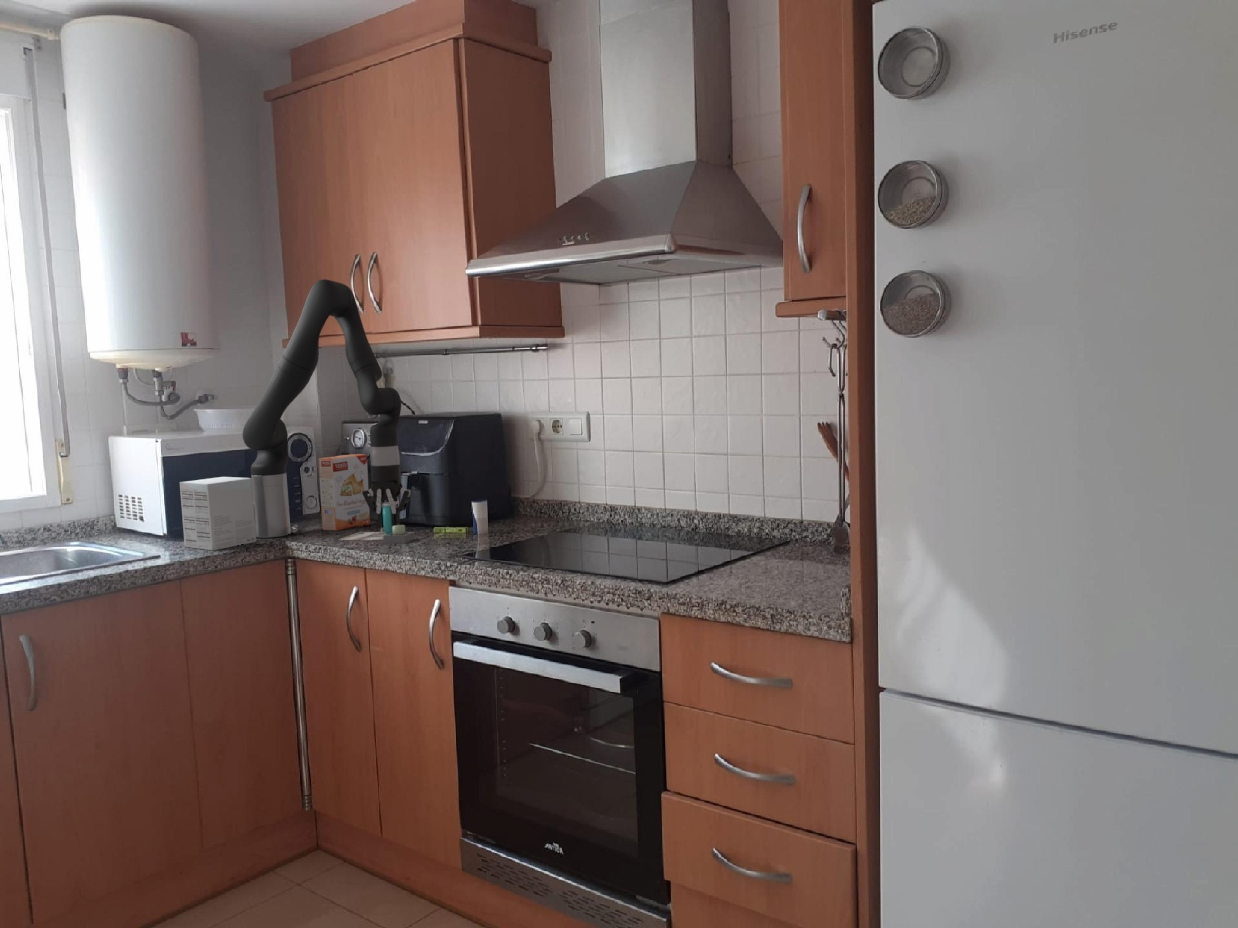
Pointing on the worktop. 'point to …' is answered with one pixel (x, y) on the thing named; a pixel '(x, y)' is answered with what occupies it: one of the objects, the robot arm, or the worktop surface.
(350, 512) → the cracker box
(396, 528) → the button
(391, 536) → the button housing
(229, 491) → the supplement box
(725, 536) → the worktop surface
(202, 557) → the worktop surface
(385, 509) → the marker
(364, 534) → the framed whiteboard
